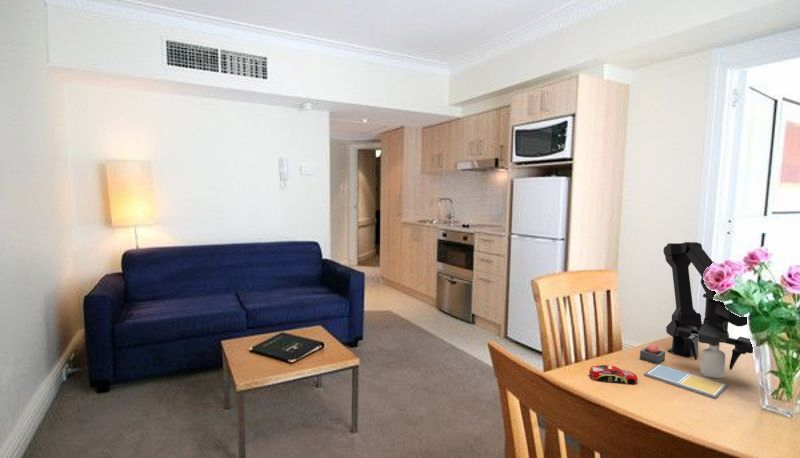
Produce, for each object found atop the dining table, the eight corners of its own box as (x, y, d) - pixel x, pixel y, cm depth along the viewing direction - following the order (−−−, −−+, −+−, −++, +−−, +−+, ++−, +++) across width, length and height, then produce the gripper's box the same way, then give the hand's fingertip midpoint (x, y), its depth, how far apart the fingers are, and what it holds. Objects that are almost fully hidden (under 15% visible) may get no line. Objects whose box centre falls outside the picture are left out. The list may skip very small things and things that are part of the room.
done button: (649, 349, 136) (649, 344, 136) (659, 352, 134) (660, 347, 134) (645, 352, 134) (645, 346, 134) (656, 355, 132) (656, 349, 132)
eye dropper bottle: (701, 370, 127) (703, 334, 125) (723, 375, 123) (726, 338, 122) (700, 375, 123) (703, 337, 122) (723, 380, 120) (726, 342, 118)
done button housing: (646, 355, 138) (646, 346, 138) (664, 360, 134) (665, 351, 134) (639, 359, 135) (640, 350, 135) (658, 364, 130) (658, 356, 130)
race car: (634, 378, 122) (634, 365, 121) (640, 386, 116) (641, 373, 116) (587, 373, 125) (588, 361, 124) (591, 381, 119) (592, 368, 119)
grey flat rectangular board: (658, 365, 130) (658, 363, 130) (727, 386, 116) (728, 384, 116) (643, 375, 123) (643, 373, 123) (715, 399, 109) (715, 396, 109)
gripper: (671, 313, 124) (668, 361, 125) (750, 329, 109) (745, 383, 110) (684, 306, 131) (681, 352, 132) (759, 321, 116) (754, 372, 117)
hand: (712, 364), depth 123 cm, fingers closed on eye dropper bottle, 8 cm apart
